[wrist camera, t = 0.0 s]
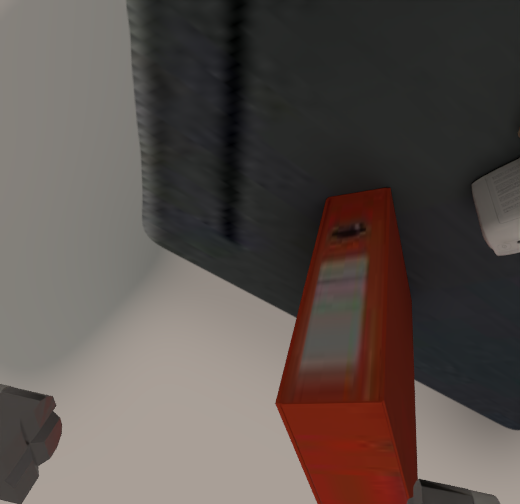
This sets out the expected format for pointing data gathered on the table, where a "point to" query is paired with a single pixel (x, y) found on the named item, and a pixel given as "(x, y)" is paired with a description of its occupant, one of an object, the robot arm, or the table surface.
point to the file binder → (354, 359)
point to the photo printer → (499, 208)
